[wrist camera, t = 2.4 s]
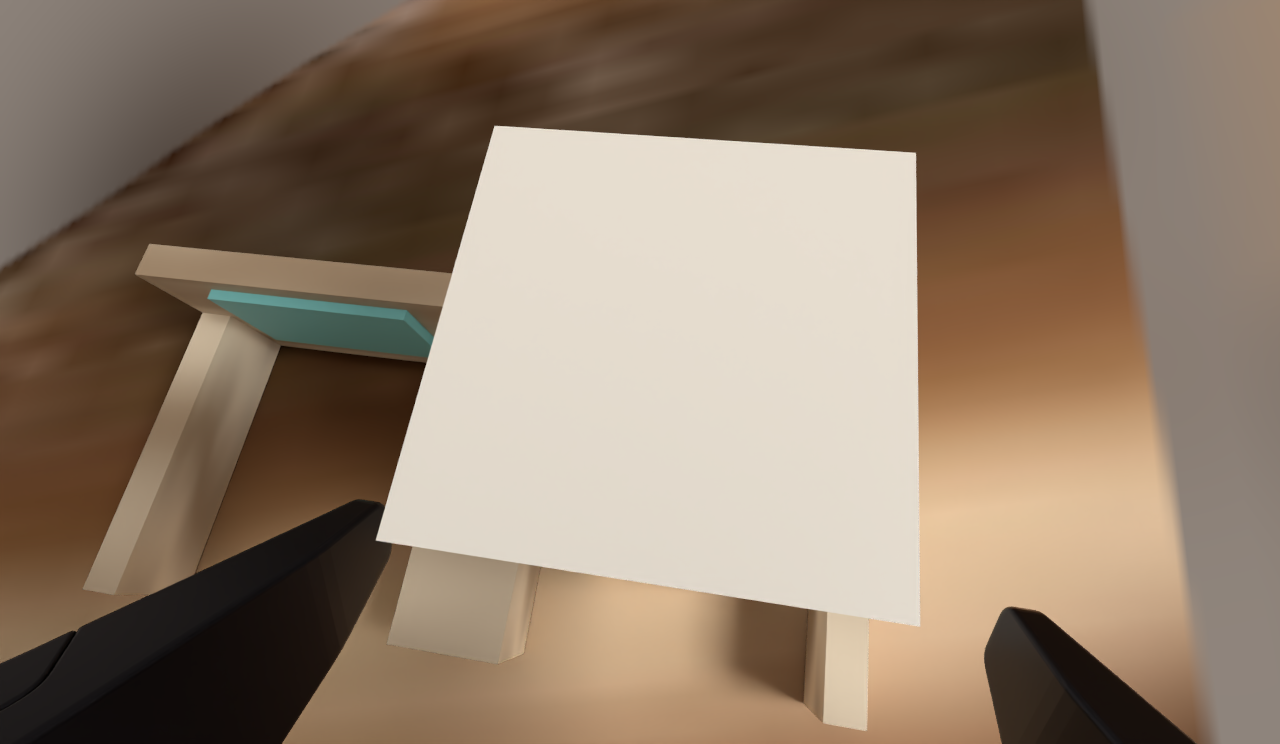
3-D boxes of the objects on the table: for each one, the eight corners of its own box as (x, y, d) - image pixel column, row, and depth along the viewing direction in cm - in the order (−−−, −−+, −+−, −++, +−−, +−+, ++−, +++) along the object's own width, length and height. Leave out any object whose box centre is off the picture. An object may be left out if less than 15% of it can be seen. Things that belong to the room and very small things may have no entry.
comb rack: (840, 709, 16) (904, 760, 11) (158, 588, 19) (-20, 589, 14) (850, 383, 19) (904, 317, 14) (265, 317, 22) (149, 243, 17)
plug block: (755, 598, 17) (920, 625, 5) (588, 572, 18) (374, 540, 6) (768, 433, 19) (915, 152, 7) (615, 414, 19) (494, 125, 7)
